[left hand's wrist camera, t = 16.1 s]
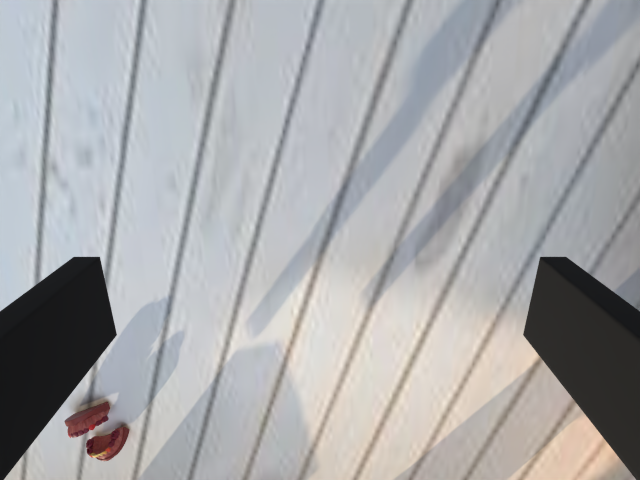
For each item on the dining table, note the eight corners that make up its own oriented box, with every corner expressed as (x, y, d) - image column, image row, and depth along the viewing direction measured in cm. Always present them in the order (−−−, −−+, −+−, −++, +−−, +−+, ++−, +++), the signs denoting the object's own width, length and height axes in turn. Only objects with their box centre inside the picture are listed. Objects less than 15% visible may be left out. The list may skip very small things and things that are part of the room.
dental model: (87, 473, 55) (50, 431, 53) (101, 447, 59) (68, 407, 56) (123, 459, 55) (88, 416, 52) (135, 434, 59) (103, 393, 56)
